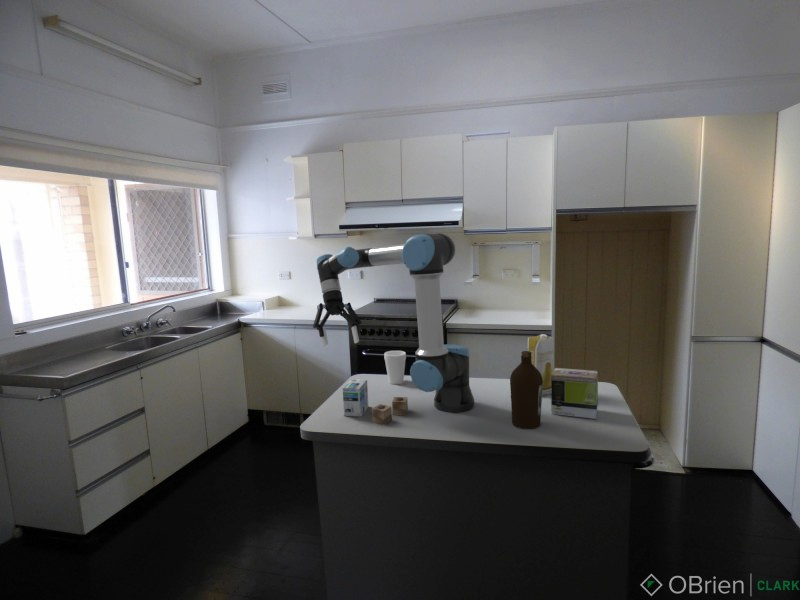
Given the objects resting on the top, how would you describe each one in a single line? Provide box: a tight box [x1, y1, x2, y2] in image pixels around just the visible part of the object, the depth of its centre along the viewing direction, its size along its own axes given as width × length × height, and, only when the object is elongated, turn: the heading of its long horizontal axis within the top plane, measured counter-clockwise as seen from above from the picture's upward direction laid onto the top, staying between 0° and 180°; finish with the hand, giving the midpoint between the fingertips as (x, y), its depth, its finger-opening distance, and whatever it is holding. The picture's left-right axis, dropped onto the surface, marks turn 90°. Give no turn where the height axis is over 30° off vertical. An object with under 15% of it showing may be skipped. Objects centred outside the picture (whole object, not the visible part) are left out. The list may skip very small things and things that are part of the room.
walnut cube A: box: [391, 396, 409, 416], centre depth 177 cm, size 5×5×5 cm
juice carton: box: [527, 333, 555, 397], centre depth 191 cm, size 9×8×24 cm
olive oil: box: [509, 350, 543, 430], centre depth 161 cm, size 11×11×25 cm
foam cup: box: [383, 350, 407, 385], centre depth 211 cm, size 10×9×13 cm
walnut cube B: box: [371, 403, 393, 425], centre depth 170 cm, size 5×5×5 cm
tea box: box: [550, 367, 599, 420], centre depth 171 cm, size 15×10×15 cm, turn 65°
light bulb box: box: [342, 378, 369, 418], centre depth 179 cm, size 11×7×11 cm, turn 168°
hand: (341, 343), depth 186 cm, fingers open, 13 cm apart
